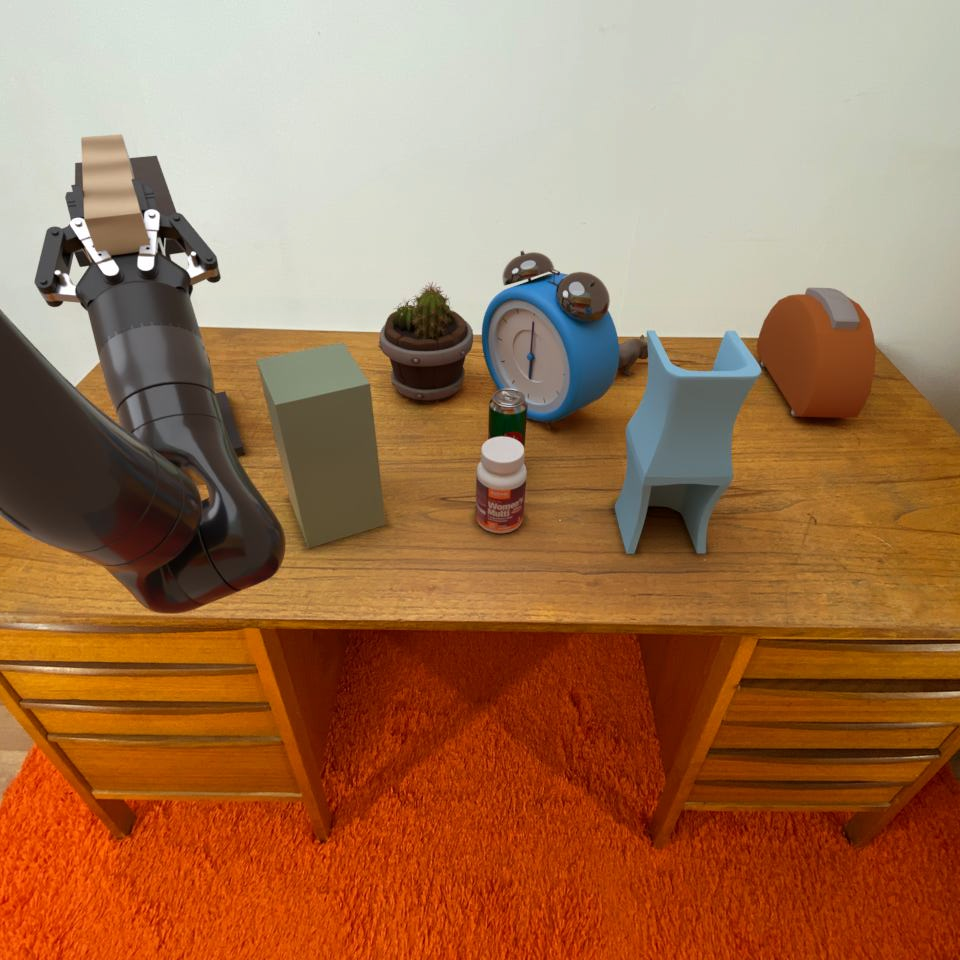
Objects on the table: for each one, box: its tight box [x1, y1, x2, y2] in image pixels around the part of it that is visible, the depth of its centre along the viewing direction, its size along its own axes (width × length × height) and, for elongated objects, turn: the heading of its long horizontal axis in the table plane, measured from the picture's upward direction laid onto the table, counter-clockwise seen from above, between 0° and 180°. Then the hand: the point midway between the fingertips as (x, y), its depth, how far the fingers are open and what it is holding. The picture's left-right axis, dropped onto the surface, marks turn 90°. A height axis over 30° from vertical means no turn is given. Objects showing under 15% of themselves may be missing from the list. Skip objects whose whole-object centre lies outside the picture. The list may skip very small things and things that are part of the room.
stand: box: [74, 155, 246, 457], centre depth 85 cm, size 34×10×34 cm, turn 26°
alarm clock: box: [481, 250, 620, 431], centre depth 95 cm, size 20×10×23 cm, turn 41°
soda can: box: [487, 389, 528, 450], centre depth 86 cm, size 5×5×12 cm
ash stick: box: [80, 133, 150, 256], centre depth 60 cm, size 28×4×3 cm, turn 26°
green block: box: [256, 341, 387, 550], centre depth 76 cm, size 10×10×21 cm
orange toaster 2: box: [756, 287, 877, 419], centre depth 102 cm, size 23×9×17 cm, turn 179°
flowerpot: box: [377, 281, 474, 404], centre depth 100 cm, size 14×15×20 cm
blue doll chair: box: [614, 329, 762, 555], centre depth 74 cm, size 10×10×25 cm
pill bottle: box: [475, 437, 528, 534], centre depth 79 cm, size 6×6×11 cm
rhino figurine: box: [618, 334, 648, 377], centre depth 109 cm, size 4×14×6 cm, turn 123°
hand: (109, 190), depth 54 cm, fingers closed on ash stick, 4 cm apart
